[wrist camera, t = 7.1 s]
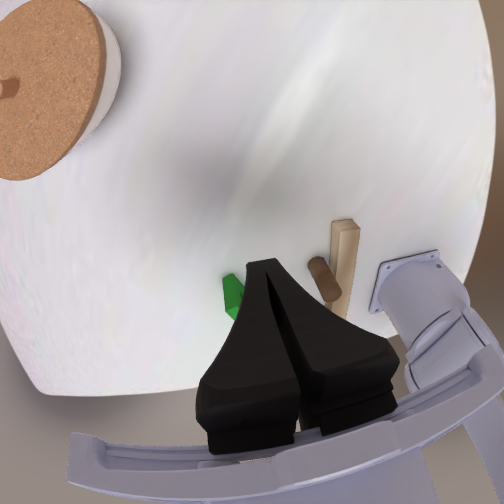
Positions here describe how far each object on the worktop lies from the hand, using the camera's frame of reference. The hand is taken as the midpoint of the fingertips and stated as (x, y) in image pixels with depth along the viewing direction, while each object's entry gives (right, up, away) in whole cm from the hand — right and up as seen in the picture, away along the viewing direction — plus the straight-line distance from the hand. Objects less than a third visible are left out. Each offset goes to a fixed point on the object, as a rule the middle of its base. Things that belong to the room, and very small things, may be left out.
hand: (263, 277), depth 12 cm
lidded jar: (-14, +14, +1) cm, 19 cm away
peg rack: (+7, -3, +16) cm, 17 cm away
